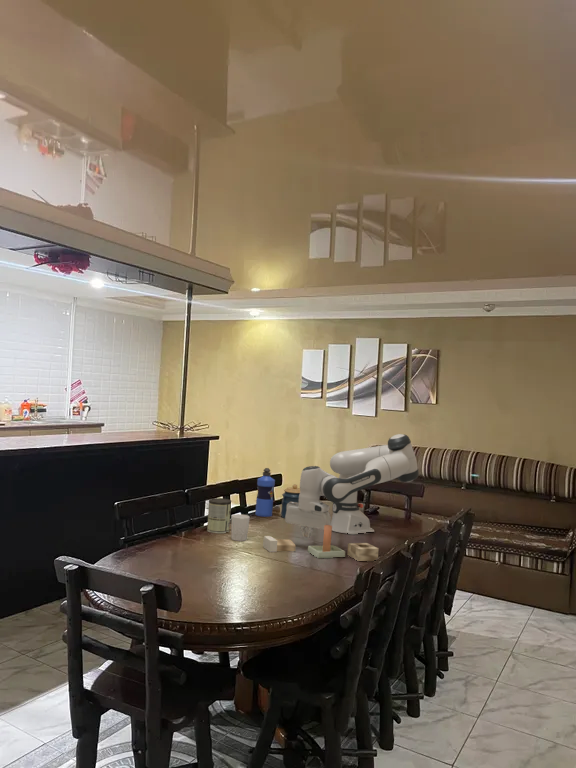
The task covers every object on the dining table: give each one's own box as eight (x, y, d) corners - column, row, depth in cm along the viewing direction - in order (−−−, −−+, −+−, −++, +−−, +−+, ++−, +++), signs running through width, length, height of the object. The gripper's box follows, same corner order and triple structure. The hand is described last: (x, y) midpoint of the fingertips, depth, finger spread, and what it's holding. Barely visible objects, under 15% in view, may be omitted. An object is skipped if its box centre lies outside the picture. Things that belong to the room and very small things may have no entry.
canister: (282, 514, 316) (284, 481, 317) (306, 516, 315) (308, 483, 315) (278, 518, 304) (281, 484, 304) (303, 521, 302) (305, 487, 302)
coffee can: (204, 528, 269) (207, 497, 269) (226, 528, 272) (228, 498, 272) (208, 533, 259) (211, 502, 259) (231, 533, 262) (233, 502, 263)
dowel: (329, 552, 238) (331, 525, 239) (330, 554, 235) (332, 526, 236) (321, 551, 238) (323, 524, 238) (323, 553, 235) (324, 526, 235)
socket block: (366, 554, 241) (367, 542, 241) (377, 561, 233) (378, 548, 233) (347, 555, 238) (348, 543, 238) (358, 561, 229) (359, 549, 229)
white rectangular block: (269, 546, 243) (270, 536, 243) (276, 551, 236) (277, 540, 236) (263, 546, 242) (263, 536, 242) (269, 552, 235) (270, 540, 235)
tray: (333, 551, 243) (333, 545, 244) (344, 557, 234) (345, 551, 234) (307, 552, 239) (308, 545, 239) (318, 558, 230) (318, 552, 230)
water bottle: (274, 514, 313) (277, 468, 314) (269, 517, 304) (272, 469, 305) (258, 512, 316) (261, 466, 317) (252, 515, 307) (256, 468, 308)
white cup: (251, 539, 254) (252, 516, 255) (242, 542, 247) (244, 518, 248) (235, 536, 258) (237, 513, 258) (226, 539, 251) (228, 516, 251)
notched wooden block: (289, 546, 248) (290, 539, 248) (295, 552, 238) (295, 545, 238) (271, 546, 246) (271, 539, 246) (276, 552, 236) (276, 545, 236)
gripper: (283, 501, 248) (281, 534, 248) (327, 509, 239) (324, 542, 238) (290, 499, 254) (288, 531, 253) (333, 507, 244) (331, 539, 244)
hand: (306, 537), depth 246 cm, fingers closed
